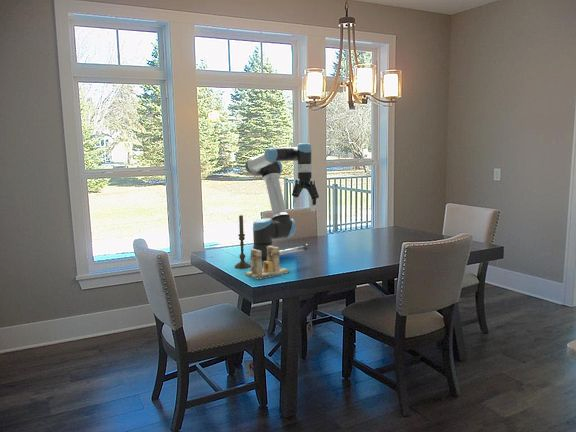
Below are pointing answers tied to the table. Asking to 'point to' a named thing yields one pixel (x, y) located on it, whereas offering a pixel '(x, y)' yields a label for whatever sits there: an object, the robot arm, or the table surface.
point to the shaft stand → (257, 263)
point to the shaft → (294, 250)
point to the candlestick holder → (241, 238)
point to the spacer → (268, 266)
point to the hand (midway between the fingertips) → (305, 209)
